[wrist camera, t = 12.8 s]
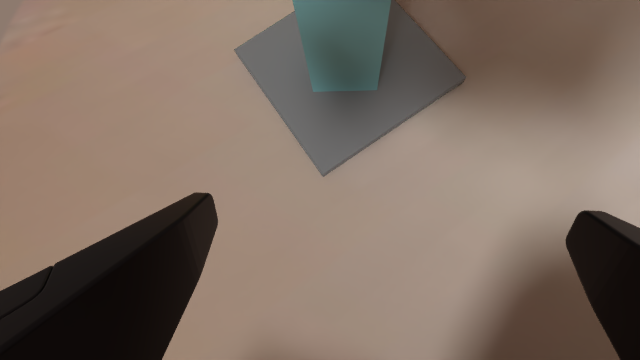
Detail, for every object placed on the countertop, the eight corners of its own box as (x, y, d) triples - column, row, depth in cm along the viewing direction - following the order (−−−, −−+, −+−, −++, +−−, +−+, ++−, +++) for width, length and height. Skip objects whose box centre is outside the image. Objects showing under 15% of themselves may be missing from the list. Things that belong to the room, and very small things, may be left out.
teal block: (376, 90, 23) (396, -36, 13) (313, 91, 23) (285, -29, 13) (375, 34, 24) (393, -121, 14) (314, 36, 24) (290, -112, 14)
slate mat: (463, 81, 23) (466, 77, 22) (323, 176, 22) (322, 174, 22) (363, -27, 26) (363, -34, 25) (236, 54, 25) (234, 49, 24)
